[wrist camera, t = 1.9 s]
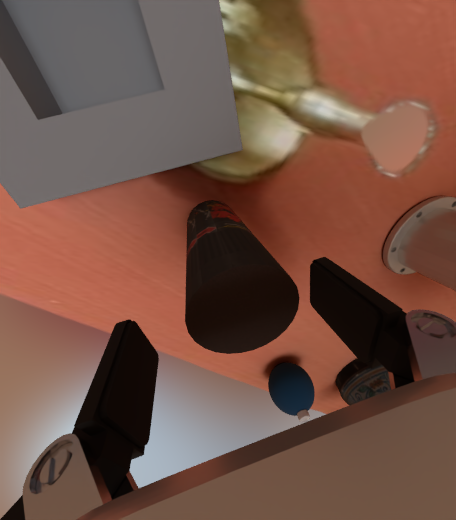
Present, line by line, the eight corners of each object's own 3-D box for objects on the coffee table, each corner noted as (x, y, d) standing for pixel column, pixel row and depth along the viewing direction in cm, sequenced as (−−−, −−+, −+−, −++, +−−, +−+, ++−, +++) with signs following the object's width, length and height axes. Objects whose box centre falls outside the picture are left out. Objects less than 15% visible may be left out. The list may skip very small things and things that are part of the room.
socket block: (163, -215, 10) (148, -443, 6) (231, 152, 19) (242, 149, 15) (-187, -162, 9) (-454, -392, 5) (56, 198, 18) (20, 208, 14)
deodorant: (176, 226, 22) (158, 324, 9) (212, 188, 21) (252, 237, 8) (212, 256, 24) (239, 365, 11) (245, 224, 23) (318, 306, 10)
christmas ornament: (254, 371, 39) (273, 432, 30) (285, 348, 37) (315, 405, 28) (277, 382, 42) (300, 439, 34) (306, 361, 41) (338, 416, 32)
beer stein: (402, 361, 49) (569, 518, 28) (343, 400, 54) (447, 561, 32) (377, 341, 42) (578, 531, 21) (312, 388, 47) (419, 583, 25)
